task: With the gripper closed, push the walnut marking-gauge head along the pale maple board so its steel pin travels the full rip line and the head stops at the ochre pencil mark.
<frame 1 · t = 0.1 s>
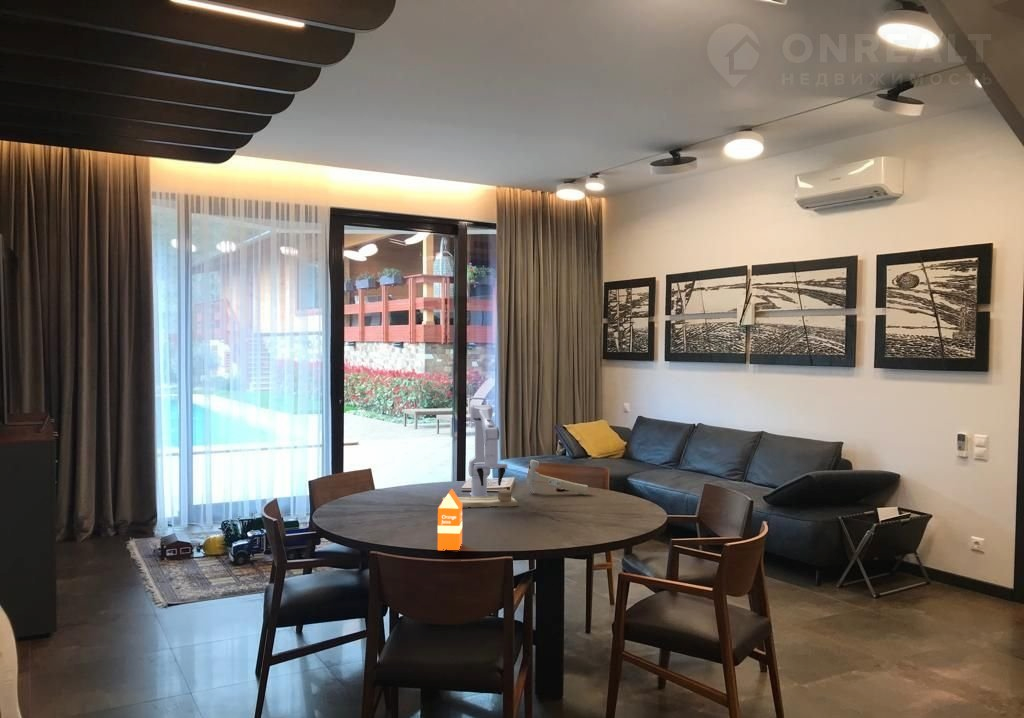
hand: (490, 485, 310), 10 cm above the table, tool pointing down, fingers open, 7 cm apart
orange juice: (449, 547, 247), on the table
board: (479, 503, 319), on the table
hammer: (556, 494, 344), on the table
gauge: (503, 494, 320), point 4 cm above the table, slide at 0.0 cm
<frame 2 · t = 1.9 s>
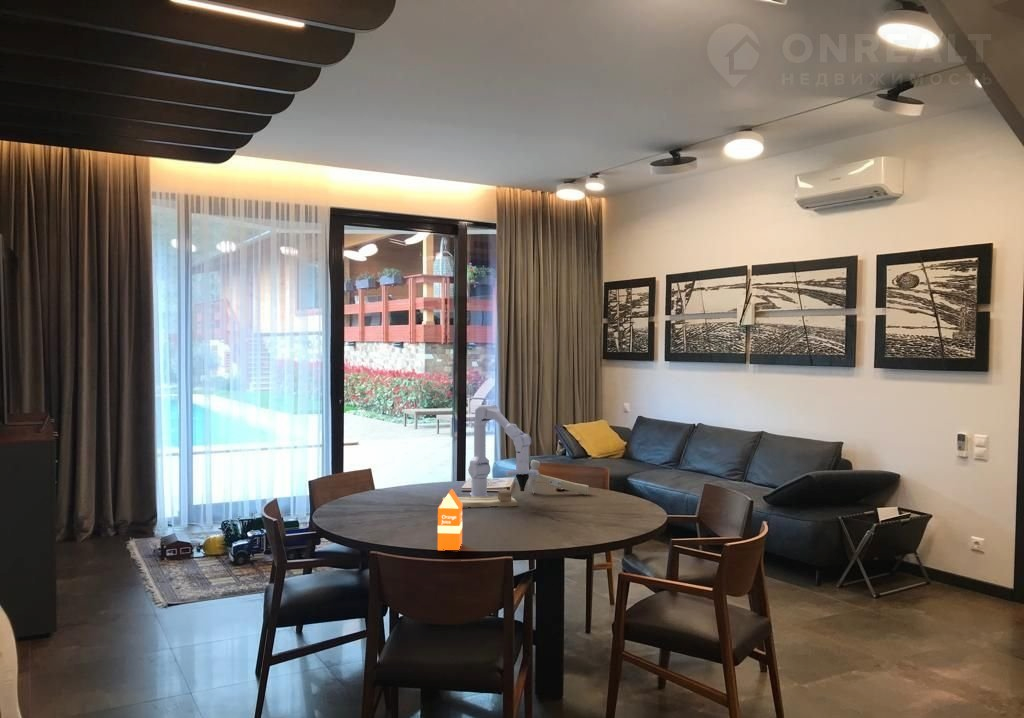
hand: (522, 490, 319), 6 cm above the table, tool pointing down, fingers closed
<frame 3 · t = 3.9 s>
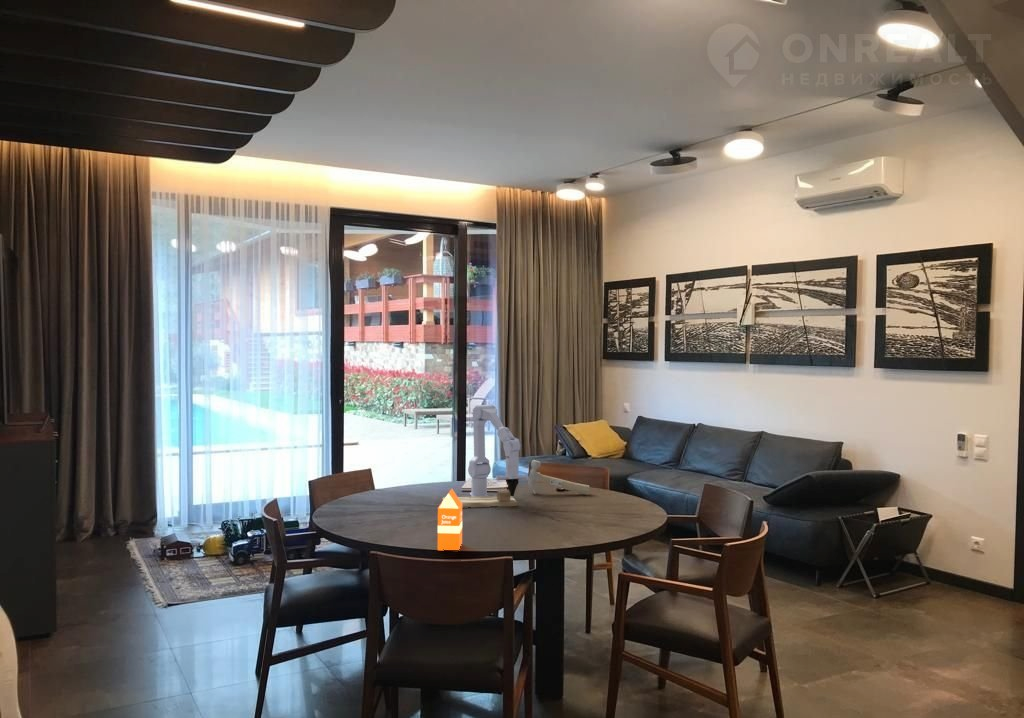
hand: (511, 495, 319), 4 cm above the table, tool pointing down, fingers closed
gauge: (502, 494, 320), point 4 cm above the table, slide at 0.5 cm, touching gripper
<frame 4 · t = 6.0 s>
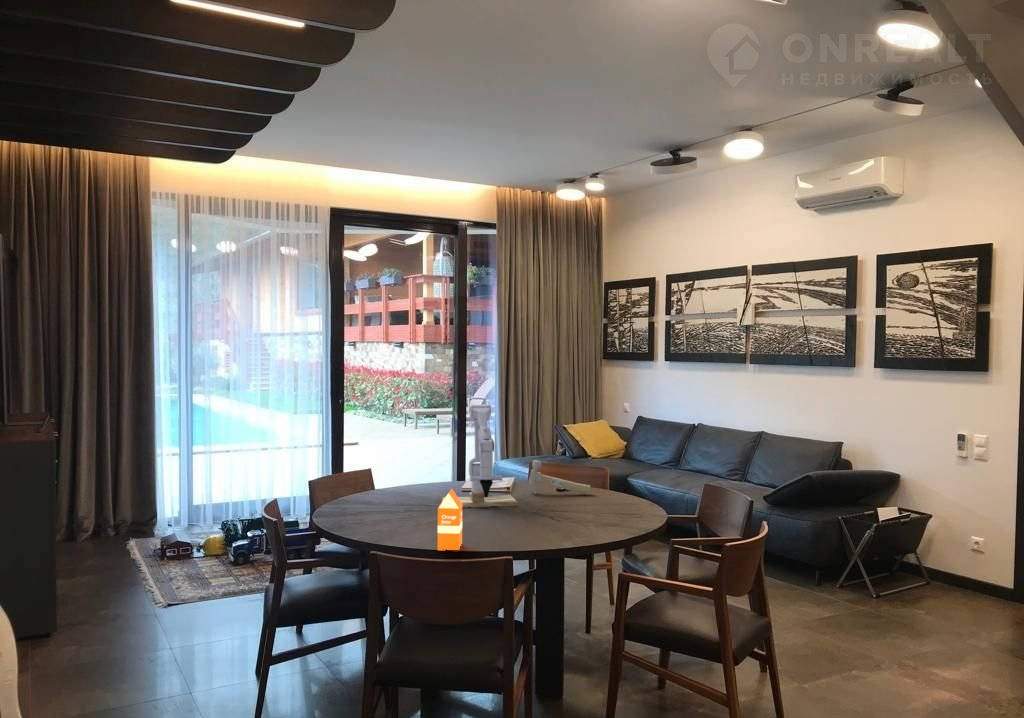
hand: (486, 496, 316), 4 cm above the table, tool pointing down, fingers closed
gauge: (476, 495, 318), point 4 cm above the table, slide at 12.4 cm, touching gripper
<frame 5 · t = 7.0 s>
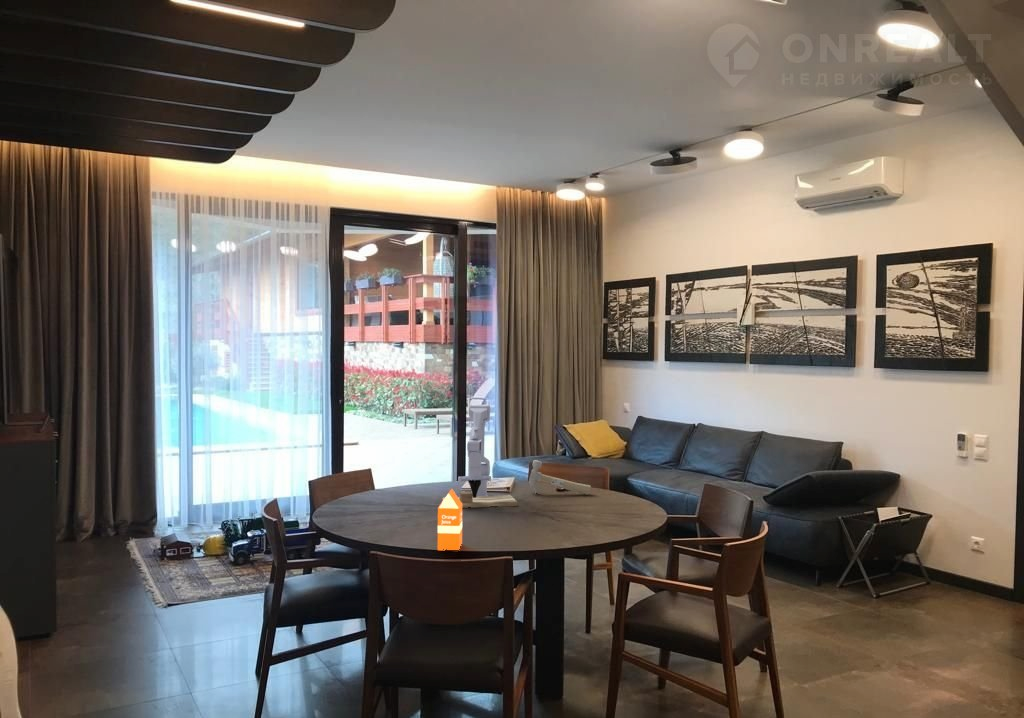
hand: (474, 497, 315), 4 cm above the table, tool pointing down, fingers closed
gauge: (465, 495, 317), point 4 cm above the table, slide at 17.7 cm, touching gripper
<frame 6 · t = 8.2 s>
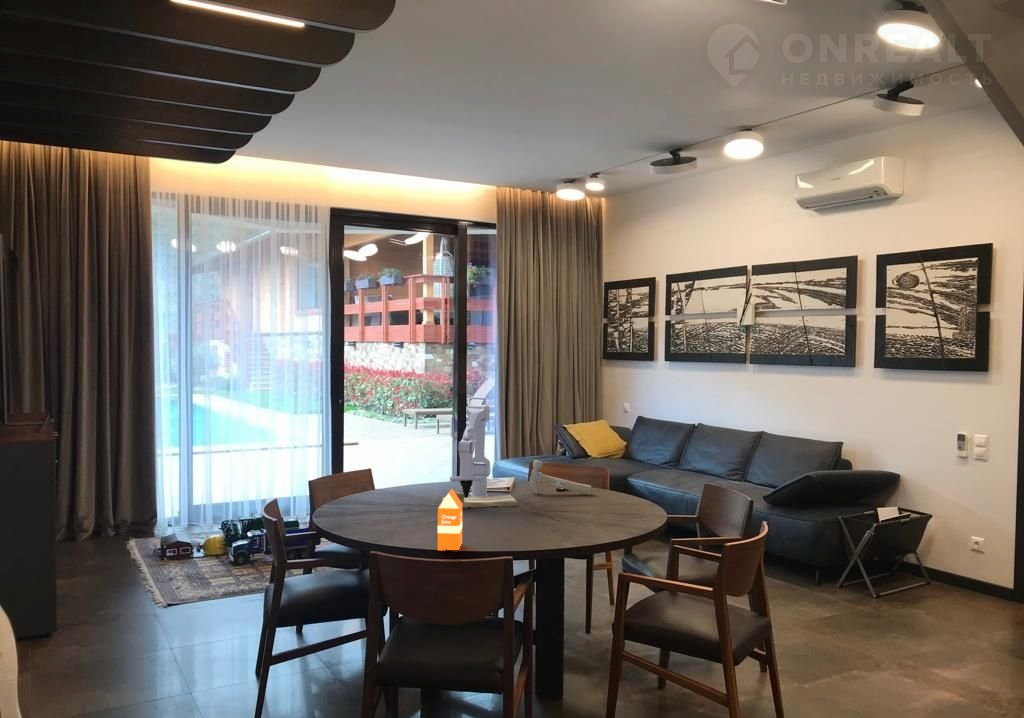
hand: (466, 497, 314), 4 cm above the table, tool pointing down, fingers closed
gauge: (456, 496, 316), point 4 cm above the table, slide at 21.4 cm, touching gripper
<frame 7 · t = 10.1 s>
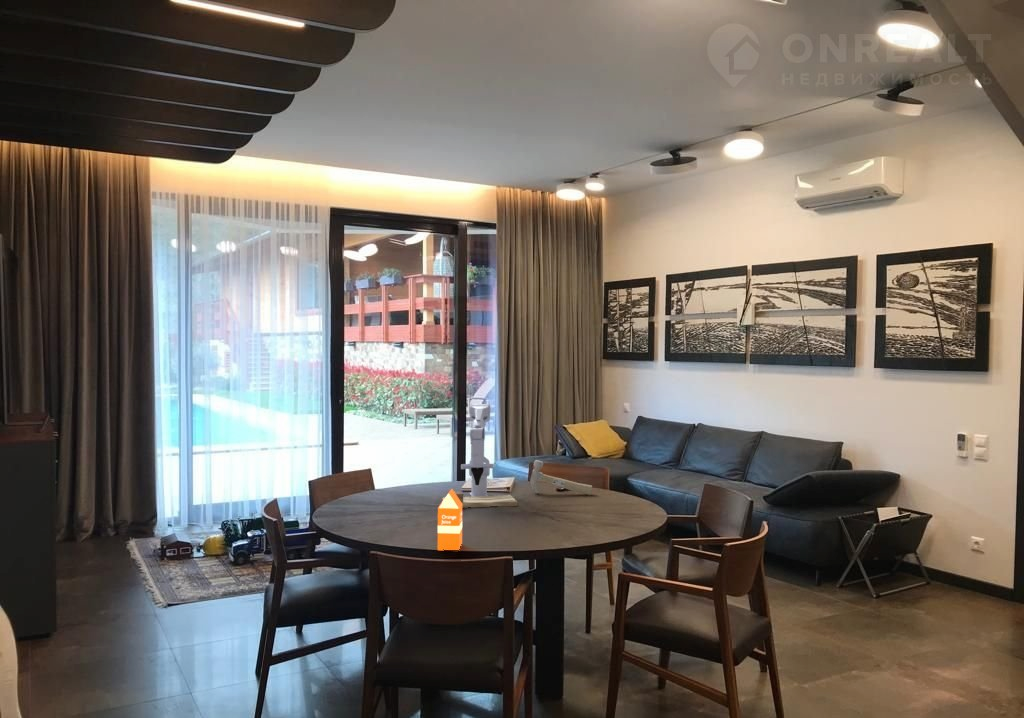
hand: (477, 484, 315), 9 cm above the table, tool pointing down, fingers closed
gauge: (456, 496, 316), point 4 cm above the table, slide at 21.8 cm
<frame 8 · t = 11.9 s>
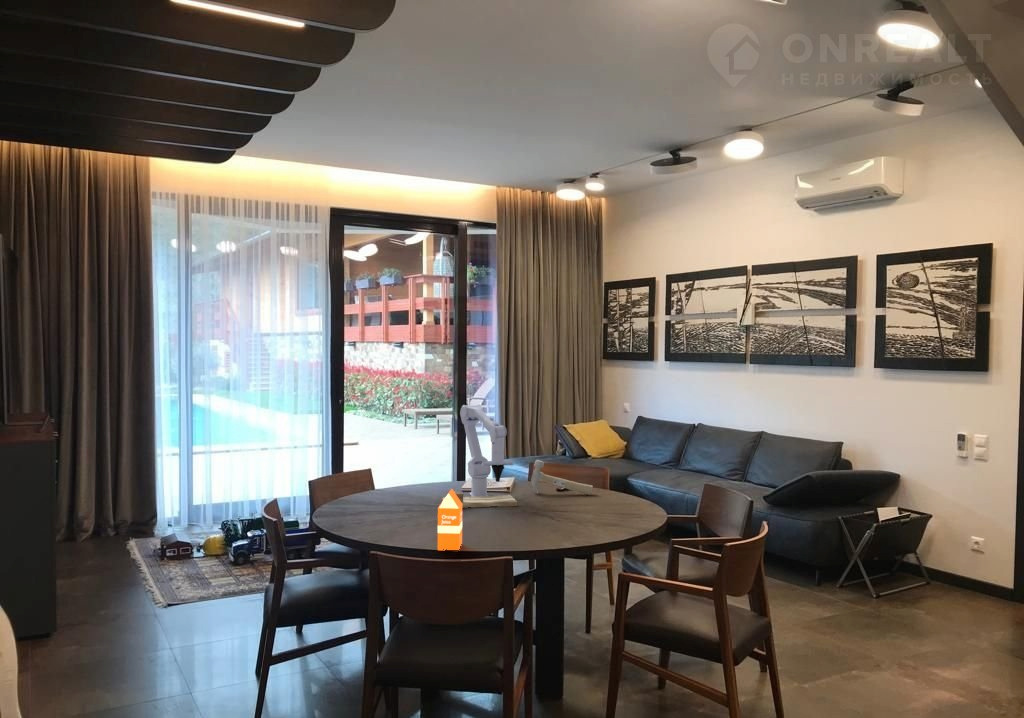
hand: (497, 481, 324), 9 cm above the table, tool pointing down, fingers closed
at the end: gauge slide at 21.8 cm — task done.
